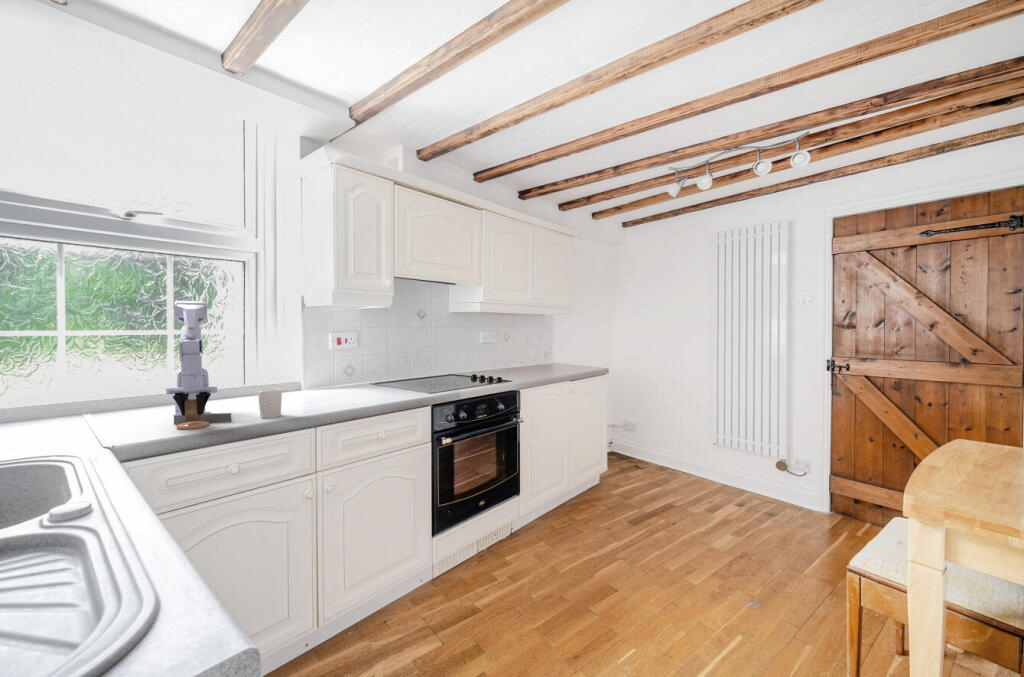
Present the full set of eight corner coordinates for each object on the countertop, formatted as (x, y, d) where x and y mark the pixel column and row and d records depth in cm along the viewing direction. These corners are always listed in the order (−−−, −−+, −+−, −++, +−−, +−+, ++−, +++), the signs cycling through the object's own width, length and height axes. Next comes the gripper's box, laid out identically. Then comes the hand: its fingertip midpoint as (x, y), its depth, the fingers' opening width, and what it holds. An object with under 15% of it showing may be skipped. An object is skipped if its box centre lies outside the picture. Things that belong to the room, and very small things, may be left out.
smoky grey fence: (173, 424, 153) (173, 415, 153) (175, 423, 154) (175, 415, 154) (230, 421, 156) (230, 413, 156) (231, 421, 157) (231, 412, 157)
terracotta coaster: (169, 429, 145) (169, 426, 145) (194, 423, 154) (194, 420, 154) (191, 430, 143) (191, 427, 143) (215, 424, 152) (215, 421, 152)
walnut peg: (181, 421, 147) (181, 400, 147) (193, 418, 151) (193, 398, 151) (192, 421, 146) (191, 400, 146) (204, 418, 150) (203, 398, 150)
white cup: (253, 417, 163) (253, 391, 163) (272, 413, 170) (272, 388, 170) (268, 419, 160) (267, 392, 160) (287, 415, 167) (286, 389, 167)
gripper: (160, 376, 143) (161, 417, 143) (209, 375, 145) (210, 416, 146) (173, 374, 150) (174, 413, 150) (219, 373, 152) (220, 412, 153)
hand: (192, 414), depth 148 cm, fingers closed on walnut peg, 4 cm apart
